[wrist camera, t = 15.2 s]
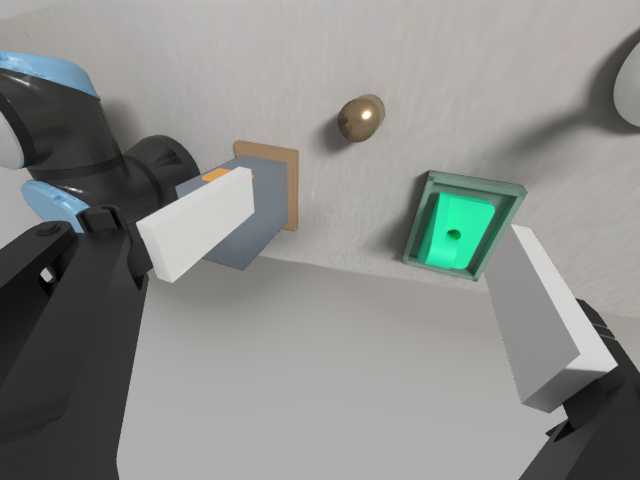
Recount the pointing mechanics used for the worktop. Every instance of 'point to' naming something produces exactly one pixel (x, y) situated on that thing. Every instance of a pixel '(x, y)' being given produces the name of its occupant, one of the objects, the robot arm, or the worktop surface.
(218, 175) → the mounted unit
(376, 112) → the cylinder
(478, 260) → the parts tray
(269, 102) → the worktop surface
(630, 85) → the flower in vase
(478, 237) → the camera mount
